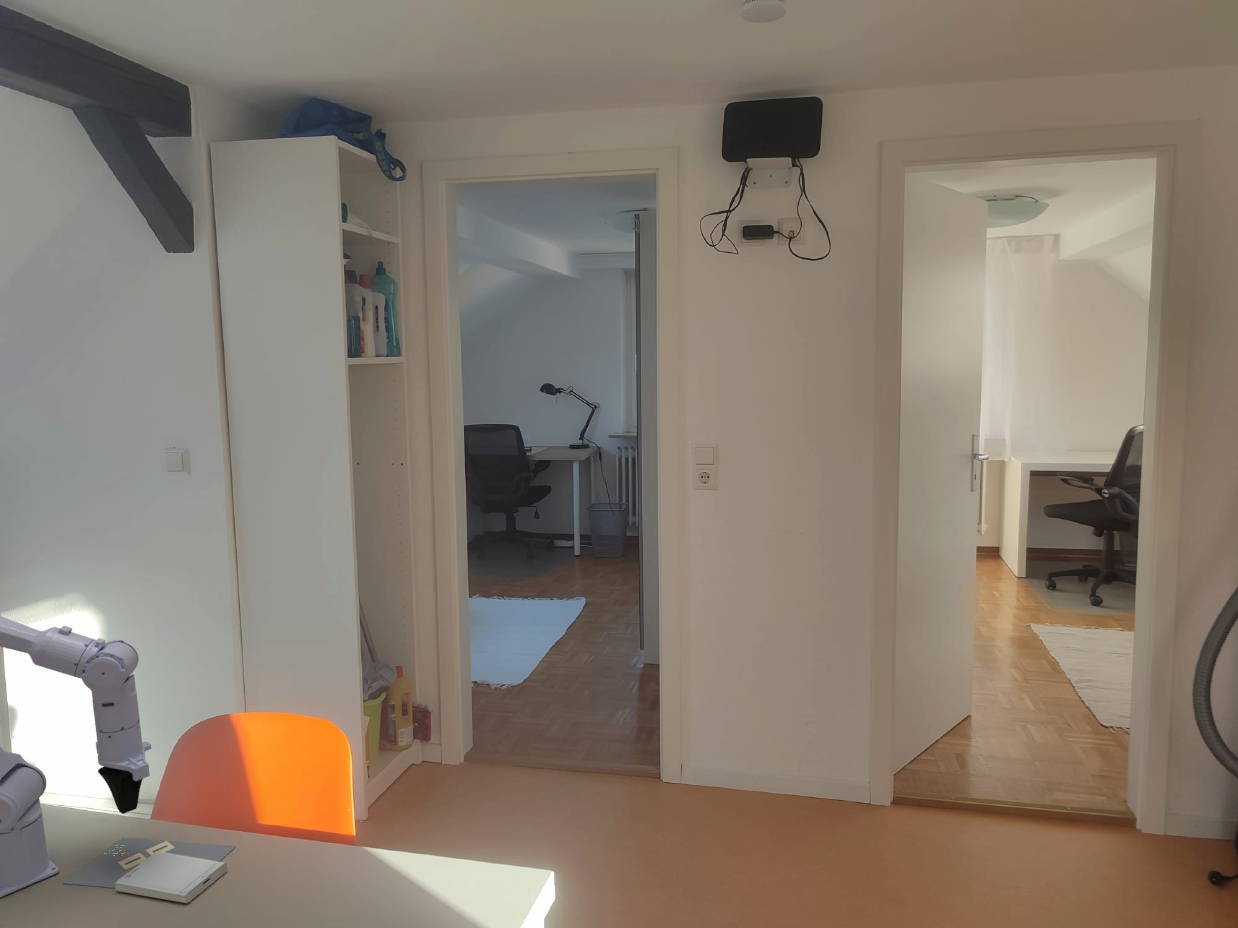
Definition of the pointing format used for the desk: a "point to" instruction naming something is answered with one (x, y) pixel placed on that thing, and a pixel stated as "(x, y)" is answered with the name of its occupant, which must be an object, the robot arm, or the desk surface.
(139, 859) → the label mat
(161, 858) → the hard drive
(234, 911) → the desk surface
